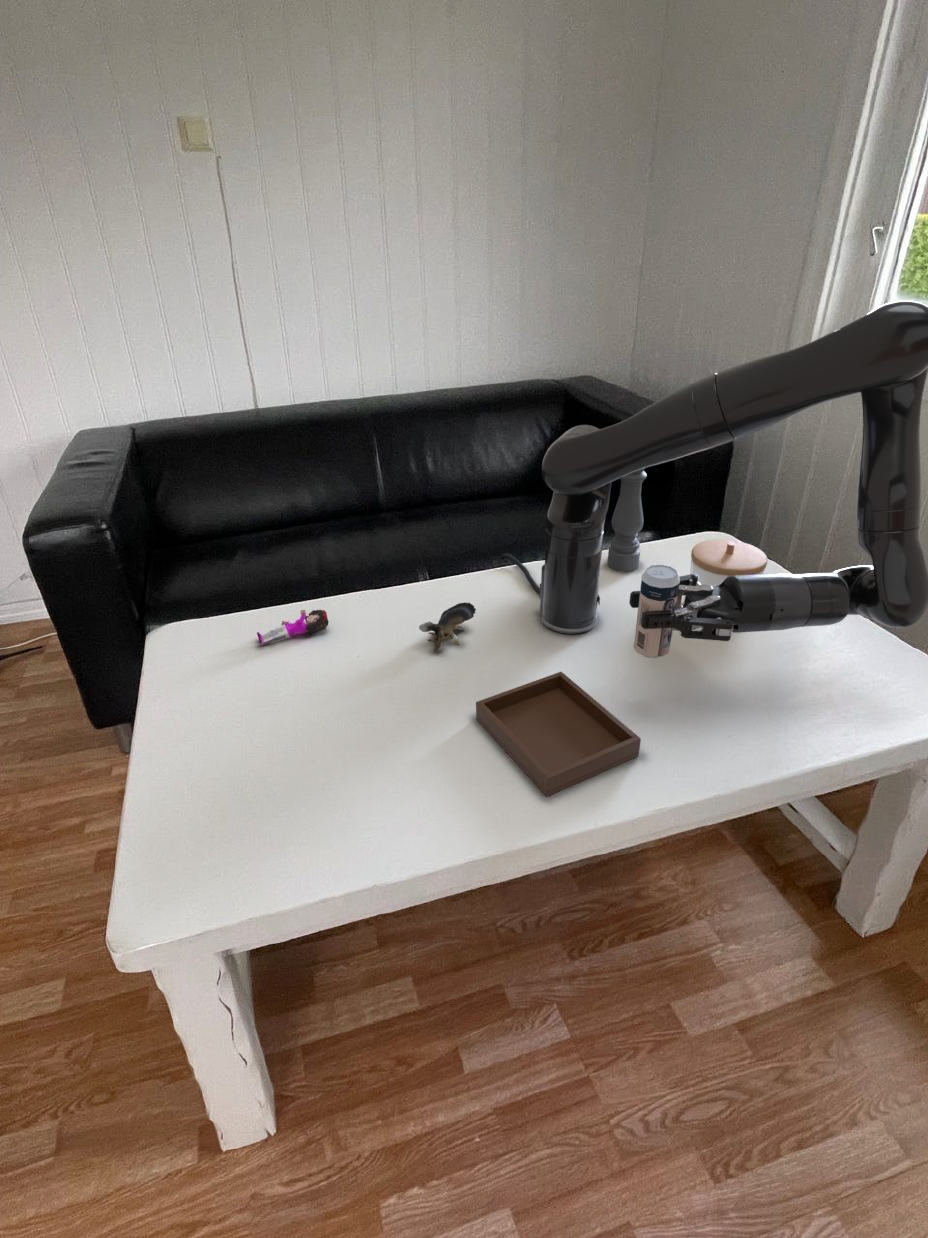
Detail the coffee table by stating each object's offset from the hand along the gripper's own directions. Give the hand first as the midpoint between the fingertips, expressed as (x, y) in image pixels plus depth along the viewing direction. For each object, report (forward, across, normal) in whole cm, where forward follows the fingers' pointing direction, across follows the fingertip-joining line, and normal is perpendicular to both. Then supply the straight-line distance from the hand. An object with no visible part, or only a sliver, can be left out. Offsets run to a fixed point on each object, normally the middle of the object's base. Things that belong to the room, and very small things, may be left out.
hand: (636, 609), depth 91 cm
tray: (+11, +4, +17) cm, 21 cm away
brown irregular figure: (+24, -22, +17) cm, 36 cm away
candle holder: (-12, -46, +17) cm, 50 cm away
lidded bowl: (-26, -30, +17) cm, 43 cm away
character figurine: (+50, -26, +17) cm, 59 cm away
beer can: (-3, 0, +7) cm, 7 cm away
